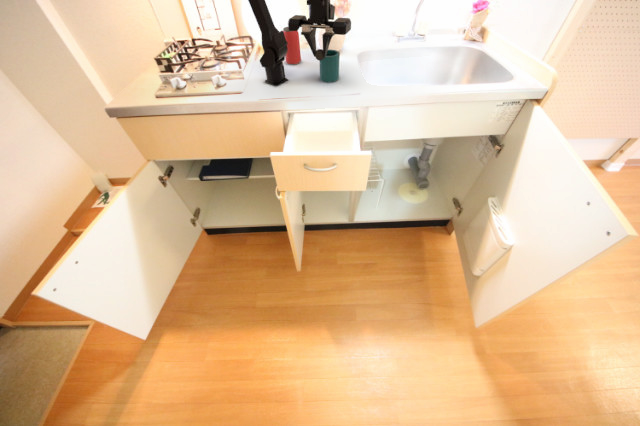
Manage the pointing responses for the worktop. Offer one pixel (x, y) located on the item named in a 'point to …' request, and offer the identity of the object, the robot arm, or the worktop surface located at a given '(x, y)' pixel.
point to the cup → (335, 41)
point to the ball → (319, 54)
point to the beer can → (292, 46)
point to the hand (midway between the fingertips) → (320, 56)
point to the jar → (330, 67)
